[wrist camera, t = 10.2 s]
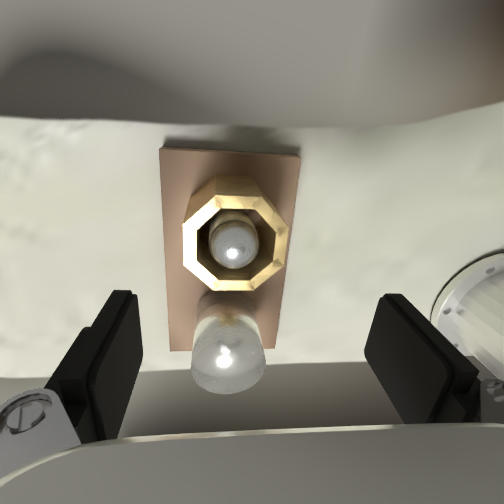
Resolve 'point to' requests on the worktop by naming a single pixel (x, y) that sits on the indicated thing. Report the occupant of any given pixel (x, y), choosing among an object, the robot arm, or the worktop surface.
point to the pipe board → (174, 209)
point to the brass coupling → (269, 232)
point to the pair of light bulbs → (228, 313)
